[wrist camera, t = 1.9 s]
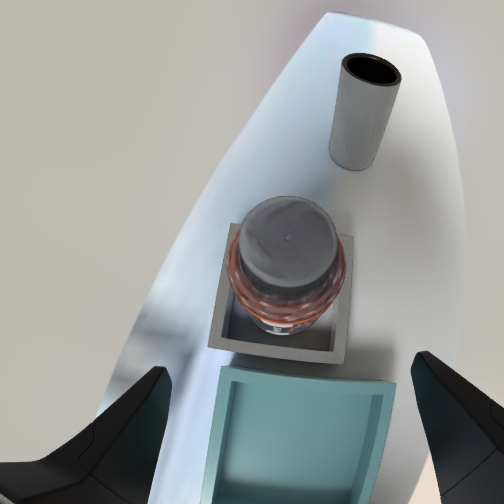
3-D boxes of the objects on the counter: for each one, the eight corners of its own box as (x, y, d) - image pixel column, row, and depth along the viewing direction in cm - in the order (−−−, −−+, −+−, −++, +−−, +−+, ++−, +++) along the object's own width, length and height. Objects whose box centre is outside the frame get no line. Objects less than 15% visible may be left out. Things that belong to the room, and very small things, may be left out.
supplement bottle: (294, 352, 20) (308, 347, 10) (229, 307, 22) (182, 258, 12) (337, 286, 22) (384, 221, 11) (274, 245, 23) (267, 155, 13)
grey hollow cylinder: (378, 171, 25) (411, 89, 15) (332, 171, 25) (350, 83, 16) (367, 136, 27) (389, 55, 17) (324, 135, 27) (335, 50, 17)
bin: (352, 509, 15) (360, 525, 12) (208, 495, 17) (198, 511, 14) (381, 380, 19) (396, 383, 16) (229, 365, 21) (221, 366, 18)
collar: (337, 363, 20) (343, 364, 18) (214, 348, 21) (207, 346, 19) (347, 247, 23) (353, 236, 21) (234, 234, 24) (230, 223, 22)
